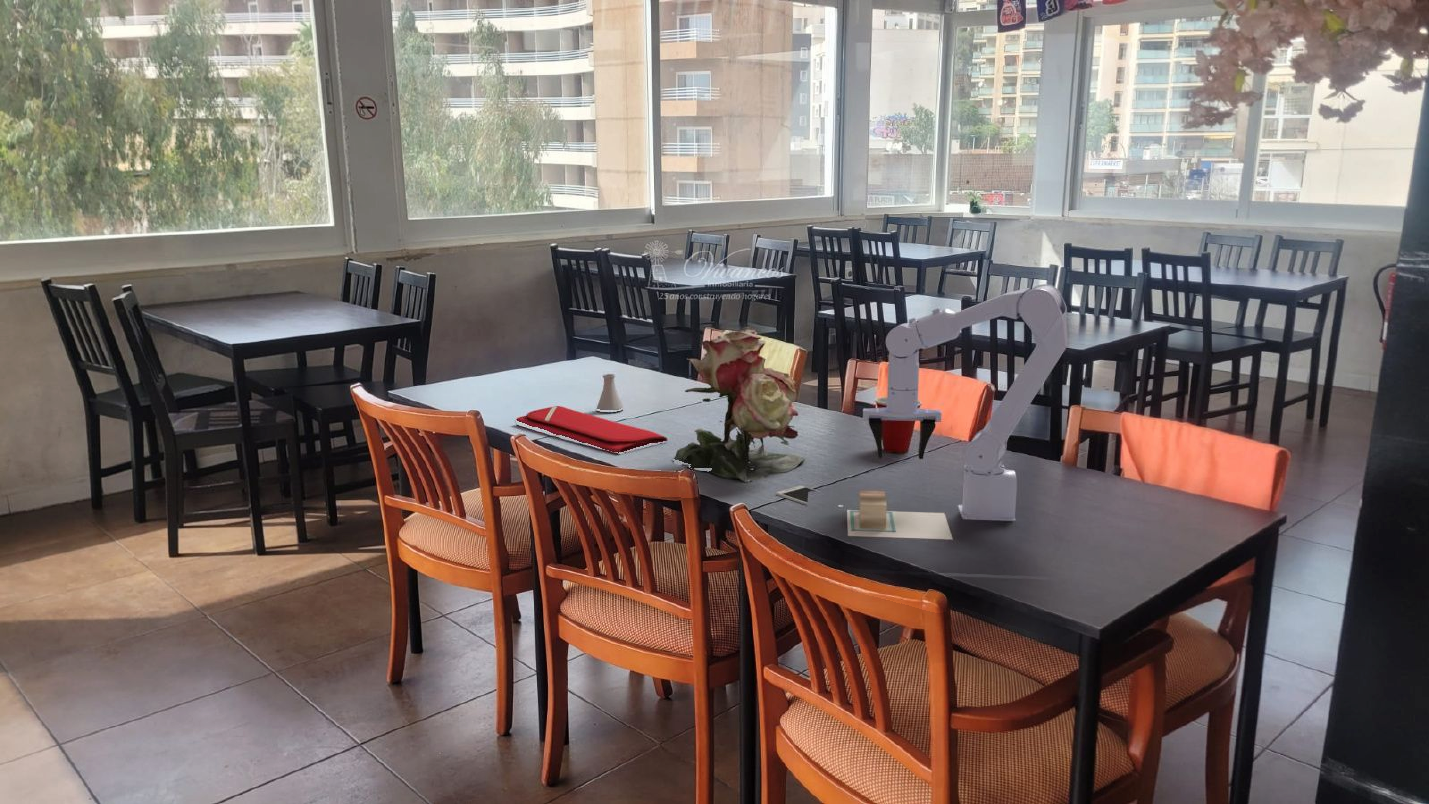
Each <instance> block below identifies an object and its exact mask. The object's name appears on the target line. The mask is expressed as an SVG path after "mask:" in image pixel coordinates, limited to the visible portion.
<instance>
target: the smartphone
mask: <svg viewBox="0 0 1429 804" xmlns="http://www.w3.org/2000/svg"><path fill="white" fill-rule="evenodd" d="M809 492H820V491H818V490H817V489H813V488H810V487H807V486H804V485H798V486H794V487H791V488H787V489H783V490H779V491H776V493H775V494H776V496H779V497H781V498H785V499H787V500H791V501H792V502H793V501H794V502H796V503H799V504H802V505H805V506H808V503H809V501H808V500H809ZM837 507H839V508H842V507H844V505H843V504H838V505H837Z"/></svg>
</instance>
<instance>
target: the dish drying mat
mask: <svg viewBox="0 0 1429 804" xmlns="http://www.w3.org/2000/svg"><path fill="white" fill-rule="evenodd" d="M516 420H517V421H519V422H522V423H525V424H527V425H529V426H532V427H538V428H540V429H544V430H547V431H549V432H551V433H553V434H556V435H562V436H565V437H569V438H571V439H574V440H577V441H579V442H582V443H588V444H591V445H594V446H597V447H600V448H602V449H605V450H609V451H612V452H618V453H619V452H624V451H627V450H630V449H633V448H636V447H640V446H644V445H647V444H649V443H658V442H663V441H667V442H668V438H667V437H666V436H664V435H662V434H658V433H657V432H654V431H650V430H647V429H643V428H639V427H634V426H632V425H629V424H628V425H627V424H623V423H619V422H616V421H612V420H610V419H609V420H608V419H606V418H602V417H599V416H594V415H591V414H588V413H585V412H581V411H577V410H575V409H571V408H568V407H565V406H561V405H554V406H550V407H546V408H540V409H535V410H532V411H529V412H527V413H526V414H525V415H523V416H519V417H517V418H516V419H515V421H516Z"/></svg>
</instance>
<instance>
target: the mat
mask: <svg viewBox="0 0 1429 804" xmlns="http://www.w3.org/2000/svg"><path fill="white" fill-rule="evenodd" d="M846 518H847V519H846V520H847V521H846V522H847V536H848V537H869V538H892V539H893V538H897V539H921V540H922V539H923V540H952V541H953V539H954V538H953V536H952V532H951V530H950V526H949V523H948V520H947V517H946V514H945V512H925V511H923V512H922V511H919V512H918V511H895V510H894V511H893V510H892V511H891V510H890V511H889V510H887V514H886V529H866V528H860V520H859V509H858V510H857V509H855V510H854V509H847V510H846Z"/></svg>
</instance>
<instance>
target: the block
mask: <svg viewBox="0 0 1429 804" xmlns="http://www.w3.org/2000/svg"><path fill="white" fill-rule="evenodd" d="M887 503H888V502H887V497H886V491H881V490H880V491H878V490H859V503H858V504H859V509H858V510H859V520H860V528H866V529H886V514H887V511H888V505H887Z"/></svg>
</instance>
